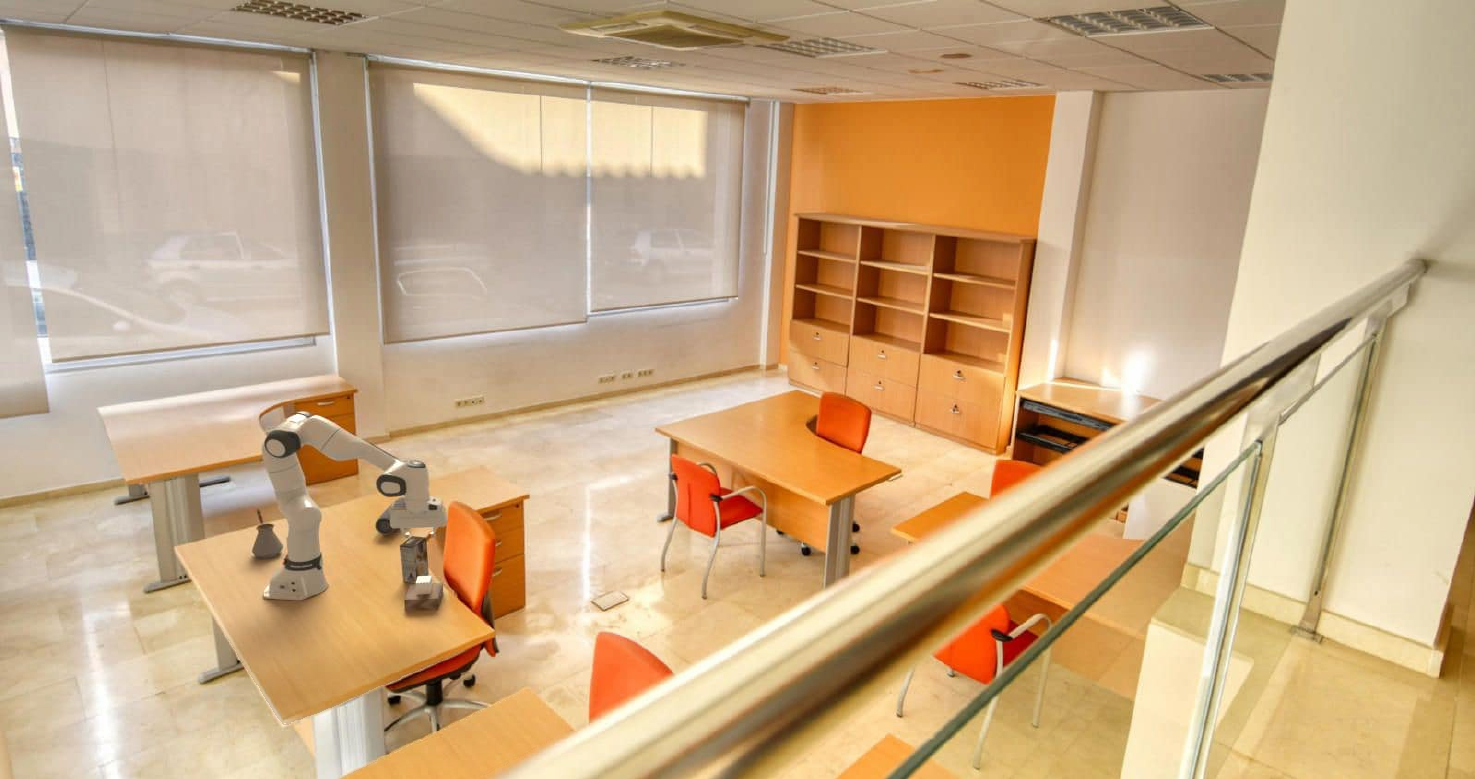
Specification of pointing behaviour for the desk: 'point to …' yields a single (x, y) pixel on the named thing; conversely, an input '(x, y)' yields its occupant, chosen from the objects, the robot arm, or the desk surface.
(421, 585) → the white cube
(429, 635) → the desk surface
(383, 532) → the bluetooth speaker
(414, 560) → the coffee box
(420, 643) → the desk surface
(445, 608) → the desk surface
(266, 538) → the coffee pot
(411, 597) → the walnut block
